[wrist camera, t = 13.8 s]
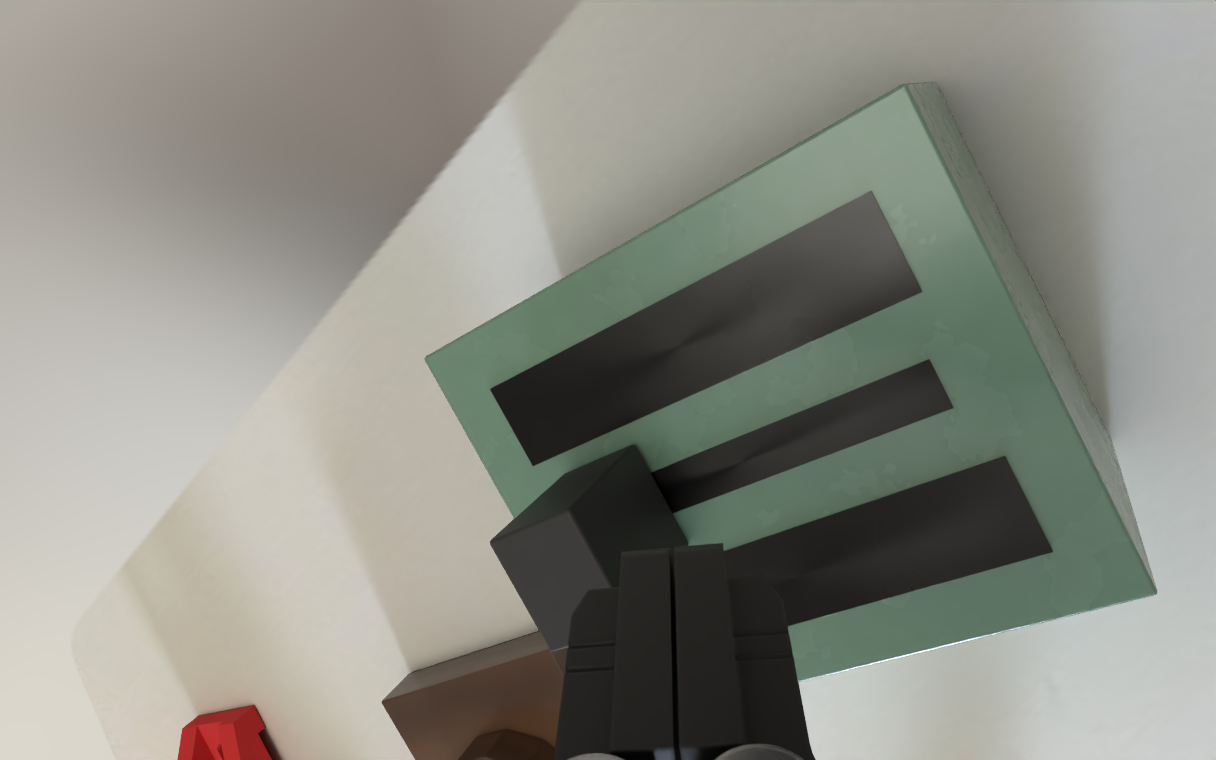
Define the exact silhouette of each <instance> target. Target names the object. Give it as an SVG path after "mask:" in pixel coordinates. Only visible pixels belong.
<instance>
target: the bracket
mask: <svg viewBox="0 0 1216 760" xmlns="http://www.w3.org/2000/svg"><path fill="white" fill-rule="evenodd" d="M264 728H265V725H264V723H263V722H262V720H261V718H260V716H259V714H258V712H257V710H256V708H255V706H254V705H253V706H248V707H243V708H238V709H232V710H227V711H222V712H217V713H212V714H206V715H201V716H198V717H196V718H195V719H194V720H193V721H191V722H190V723H189V724H187V725H186V726H185V727H184V728H182V735H181V741H180V748H179V754H178V760H272V759H271V757H270V755H269V753H268V752H267V750H266V748H265V746H264V744H263V742H262V740H261V738H260V736H259V734H258V733H259V732H260V731H262V730H263V729H264Z"/></svg>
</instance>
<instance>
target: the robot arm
mask: <svg viewBox="0 0 1216 760" xmlns="http://www.w3.org/2000/svg"><path fill="white" fill-rule="evenodd" d="M674 567H675V572H674ZM554 760H815V758H814V756H813V753H812V750H811V747H810V743H809V737H808V732H807V727H806V721H805V716H804V710H803V705H802V700H801V694H800V689H799V684H798V678H797V673H796V667H795V662H794V657H793V652H792V646H791V641H790V635H789V631H788V624H787V619H786V614H785V608H784V603H783V599H782V597H781V596H780V595H779V594H778V593H777V591H776V590H775V589H774V588H773V587H772V585H771V584H770V583H769V582H768V580H767V579H766V578H765V577H764V576H750V577H738V578H727V575H726V566H725V557H724V547H723V543H715V544H703V545H691V546H680V547H674V565H673V558H672V552H671V548H658V549H646V550H634V551H622V553H621V560H620V577H619V587H614V588H602V589H589V590H588V591H587V593H586V594H585V596H584V597H583V599H582V600H581V602H580V603H579V605H578V606H577V608H576V609H575V611H574V612H573V614H572V616H571V624H570V632H569V640H568V649H567V656H566V664H565V673H564V680H563V688H562V696H561V704H560V712H559V720H558V729H557V737H556V745H555V753H554Z"/></svg>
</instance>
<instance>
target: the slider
mask: <svg viewBox="0 0 1216 760" xmlns="http://www.w3.org/2000/svg"><path fill="white" fill-rule="evenodd" d="M490 545H491V546H492V548H493V550H494V552H495V554H496V555H497V557H498V559H499V561H500V562H501V564H502V566H503V568H504V569H505V571H506V573H507V575H508V576H509V578H510V580H511V582H512V583H513V585H514V587H515V589H516V591H517V592H518V594H519V596H520V598H521V599H522V601H523V603H524V605H525V606H526V608H527V610H528V612H529V613H530V615H531V617H532V619H533V620H534V622H535V624H536V626H537V628H538V629H539V631H540V633H541V635H542V636H543V638H544V640H545V642H546V643H547V645H548V647H549V649H550V650H551V651H553V652H554V651H557V650H560V649H564V648H567V647H568V640H569V632H570V624H571V616H572V614H573V612H574V611H575V609H576V608H577V606H578V605H579V603H580V602H581V600H582V599H583V597H584V596H585V594H586V593H587V591H588V590H589V589H602V588H614V587H619V577H620V560H621V553H622V551H634V550H646V549H658V548H671V552H672V558H673V565H674V547H680V546H688V541H687V539H686V537H685V535H684V533H683V531H682V530H681V528H680V526H679V524H678V522H677V520H676V519H675V517H674V515H673V513H672V511H671V509H670V508H669V506H668V504H667V502H666V500H665V498H664V497H663V495H662V493H661V491H660V489H659V487H658V486H657V484H656V482H655V480H654V478H653V476H652V475H651V473H650V471H649V469H648V467H647V465H646V464H645V462H644V460H643V458H642V456H641V454H640V453H639V451H638V449H637V447H636V446H635V445H630V446H627V447H625V448H623V449H621V450H618V451H616V452H614V453H611V454H609V455H607V456H604V457H602V458H600V459H597V460H595V461H593V462H590V463H588V464H586V465H583V466H581V467H579V468H577V469H574V470H572V471H570V472H567V473H565V474H564V475H562V476H561V477H560V478H559V479H558V480H557V481H556V482H555V483H554V484H552V485H551V486H550V487H549V488H548V489H547V490H546V491H545V492H544V493H543V494H541V495H540V496H539V497H538V498H537V499H536V500H535V501H534V502H533V503H531V504H530V505H529V506H528V507H527V508H526V509H525V510H524V511H523V512H521V513H520V514H519V515H518V516H517V517H516V518H515V519H514V520H513V521H512V522H510V523H509V524H508V525H507V526H506V527H505V528H504V529H503V530H502V531H500V532H499V533H498V534H497V535H496V536H495V537H494V538H493V539H492V540H491V541H490Z"/></svg>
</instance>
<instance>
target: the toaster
mask: <svg viewBox="0 0 1216 760" xmlns="http://www.w3.org/2000/svg"><path fill="white" fill-rule="evenodd" d="M425 361H426V363H427V365H428V366H429V368H430V370H431V372H432V374H433V375H434V377H435V379H436V381H437V382H438V384H439V386H440V388H441V390H442V391H443V393H444V395H445V397H446V398H447V400H448V402H449V404H450V406H451V407H452V409H453V411H454V413H455V414H456V416H457V418H458V420H459V422H460V423H461V425H462V427H463V429H464V430H465V432H466V434H467V436H468V437H469V439H470V441H471V443H472V445H473V446H474V448H475V450H476V452H477V453H478V455H479V457H480V459H481V461H482V462H483V464H484V466H485V468H486V469H487V471H488V473H489V475H490V477H491V478H492V480H493V482H494V484H495V485H496V487H497V489H498V491H499V493H500V494H501V496H502V498H503V500H504V501H505V503H506V505H507V507H508V509H509V510H510V512H511V514H512V516H513V517H514V519H515V518H516V517H517V516H518V515H519V514H520V513H521V512H523V511H524V510H525V509H526V508H527V507H528V506H529V505H530V504H531V503H533V502H534V501H535V500H536V499H537V498H538V497H539V496H540V495H541V494H543V493H544V492H545V491H546V490H547V489H548V488H549V487H550V486H551V485H552V484H554V483H555V482H556V481H557V480H558V479H559V478H560V477H561V476H562V475H564V474H565V473H567V472H570V471H572V470H574V469H577V468H579V467H581V466H583V465H586V464H588V463H590V462H593V461H595V460H597V459H600V458H602V457H604V456H607V455H609V454H611V453H614V452H616V451H618V450H621V449H623V448H625V447H627V446H630V445H635V446H636V447H637V449H638V451H639V453H640V454H641V456H642V458H643V460H644V462H645V464H646V465H647V467H648V469H649V471H650V473H651V475H652V476H653V478H654V480H655V482H656V484H657V486H658V487H659V489H660V491H661V493H662V495H663V497H664V498H665V500H666V502H667V504H668V506H669V508H670V509H671V511H672V513H673V515H674V517H675V519H676V520H677V522H678V524H679V526H680V528H681V530H682V531H683V533H684V535H685V537H686V539H687V541H688V546H691V545H703V544H715V543H723V547H724V557H725V566H726V575H727V578H738V577H750V576H764V577H765V578H766V579H767V580H768V582H769V583H770V584H771V585H772V587H773V588H774V589H775V590H776V591H777V593H778V594H779V595H780V596H781V597H782V599H783V603H784V608H785V614H786V619H787V624H788V631H789V635H790V641H791V646H792V652H793V657H794V662H795V667H796V673H797V678H798V682H801V681H805V680H809V679H813V678H818V677H822V676H826V675H830V674H834V673H838V672H842V671H846V670H850V669H854V668H859V667H863V666H867V665H871V664H875V663H879V662H883V661H887V660H891V659H895V658H899V657H904V656H908V655H912V654H916V653H920V652H924V651H928V650H932V649H936V648H940V647H945V646H949V645H953V644H957V643H961V642H965V641H969V640H973V639H977V638H981V637H986V636H990V635H994V634H998V633H1002V632H1006V631H1010V630H1014V629H1018V628H1022V627H1026V626H1031V625H1035V624H1039V623H1043V622H1047V621H1051V620H1055V619H1059V618H1063V617H1067V616H1072V615H1076V614H1080V613H1084V612H1088V611H1092V610H1096V609H1100V608H1104V607H1108V606H1112V605H1117V604H1121V603H1125V602H1129V601H1133V600H1137V599H1141V598H1145V597H1149V596H1153V595H1156V594H1157V589H1156V585H1155V582H1154V579H1153V575H1152V572H1151V569H1150V565H1149V562H1148V559H1147V556H1146V552H1145V549H1144V546H1143V542H1142V539H1141V536H1140V532H1139V529H1138V526H1137V522H1136V519H1135V516H1134V512H1133V509H1132V506H1131V503H1130V499H1129V496H1128V493H1127V489H1126V486H1125V483H1124V479H1123V476H1122V473H1121V469H1120V466H1119V463H1118V459H1117V456H1116V453H1115V450H1114V446H1113V443H1112V440H1111V438H1110V436H1109V434H1108V432H1107V430H1106V428H1105V426H1104V424H1103V422H1102V420H1101V418H1100V416H1099V414H1098V412H1097V410H1096V408H1095V406H1094V404H1093V402H1092V400H1091V398H1090V396H1089V393H1088V391H1087V389H1086V387H1085V385H1084V383H1083V381H1082V379H1081V377H1080V375H1079V373H1078V371H1077V369H1076V367H1075V365H1074V363H1073V361H1072V359H1071V357H1070V355H1069V353H1068V351H1067V349H1066V347H1065V345H1064V343H1063V341H1062V339H1061V336H1060V334H1059V332H1058V330H1057V328H1056V326H1055V324H1054V322H1053V320H1052V318H1051V316H1050V314H1049V312H1048V310H1047V308H1046V306H1045V304H1044V302H1043V300H1042V298H1041V296H1040V294H1039V292H1038V290H1037V288H1036V286H1035V284H1034V282H1033V280H1032V277H1031V275H1030V273H1029V271H1028V269H1027V267H1026V265H1025V263H1024V261H1023V259H1022V257H1021V255H1020V253H1019V251H1018V249H1017V247H1016V245H1015V243H1014V241H1013V239H1012V237H1011V235H1010V233H1009V231H1008V229H1007V227H1006V225H1005V223H1004V220H1003V218H1002V216H1001V214H1000V212H999V210H998V208H997V206H996V204H995V202H994V200H993V198H992V196H991V194H990V192H989V190H988V188H987V186H986V184H985V182H984V180H983V178H982V176H981V174H980V172H979V170H978V168H977V166H976V163H975V161H974V159H973V157H972V155H971V153H970V151H969V149H968V147H967V145H966V143H965V141H964V139H963V137H962V135H961V133H960V131H959V129H958V127H957V125H956V123H955V121H954V119H953V117H952V115H951V113H950V111H949V109H948V106H947V104H946V102H945V100H944V98H943V96H942V94H941V92H940V90H939V88H938V86H937V84H936V83H935V82H929V83H913V84H902V85H900V86H899V87H897V88H895V89H893V90H892V91H890V92H888V93H886V94H885V95H883V96H881V97H879V98H878V99H876V100H874V101H872V102H871V103H869V104H867V105H865V106H864V107H862V108H860V109H858V110H857V111H855V112H853V113H851V114H850V115H848V116H846V117H844V118H843V119H841V120H839V121H837V122H836V123H834V124H832V125H830V126H829V127H827V128H825V129H823V130H822V131H820V132H818V133H816V134H815V135H813V136H811V137H809V138H808V139H806V140H804V141H802V142H801V143H799V144H797V145H795V146H794V147H792V148H790V149H788V150H787V151H785V152H783V153H781V154H780V155H778V156H776V157H774V158H773V159H771V160H769V161H767V162H766V163H764V164H762V165H760V166H759V167H757V168H755V169H753V170H752V171H750V172H748V173H746V174H745V175H743V176H741V177H739V178H738V179H736V180H734V181H732V182H731V183H729V184H727V185H725V186H724V187H722V188H720V189H718V190H717V191H715V192H713V193H711V194H710V195H708V196H706V197H704V198H703V199H701V200H699V201H697V202H696V203H694V204H692V205H690V206H689V207H687V208H685V209H683V210H682V211H680V212H678V213H676V214H675V215H673V216H671V217H669V218H668V219H666V220H664V221H662V222H661V223H659V224H657V225H655V226H654V227H652V228H650V229H648V230H647V231H645V232H643V233H641V234H640V235H638V236H636V237H634V238H633V239H631V240H629V241H627V242H626V243H624V244H622V245H620V246H619V247H617V248H615V249H613V250H612V251H610V252H608V253H606V254H605V255H603V256H601V257H599V258H598V259H596V260H594V261H592V262H591V263H589V264H587V265H585V266H584V267H582V268H580V269H578V270H577V271H575V272H573V273H571V274H570V275H568V276H566V277H564V278H563V279H561V280H559V281H557V282H556V283H554V284H552V285H550V286H549V287H547V288H545V289H543V290H542V291H540V292H538V293H536V294H535V295H533V296H531V297H529V298H528V299H526V300H524V301H522V302H521V303H519V304H517V305H515V306H514V307H512V308H510V309H508V310H507V311H505V312H503V313H501V314H500V315H498V316H496V317H494V318H493V319H491V320H489V321H487V322H486V323H484V324H482V325H480V326H479V327H477V328H475V329H473V330H472V331H470V332H468V333H466V334H465V335H463V336H461V337H459V338H458V339H456V340H454V341H452V342H451V343H449V344H447V345H445V346H444V347H442V348H440V349H438V350H437V351H435V352H433V353H431V354H430V355H428V356H426V357H425ZM674 572H675V567H674Z"/></svg>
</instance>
